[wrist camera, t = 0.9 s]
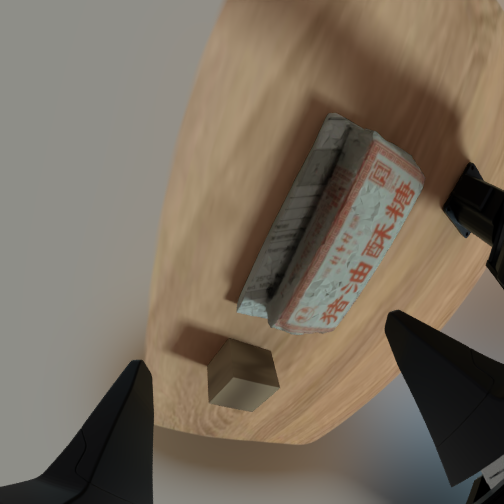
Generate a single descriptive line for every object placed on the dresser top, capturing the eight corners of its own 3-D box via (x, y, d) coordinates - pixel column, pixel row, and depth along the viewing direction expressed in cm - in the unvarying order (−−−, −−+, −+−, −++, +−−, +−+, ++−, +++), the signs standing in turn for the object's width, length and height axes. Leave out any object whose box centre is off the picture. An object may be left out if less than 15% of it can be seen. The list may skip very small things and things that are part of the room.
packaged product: (355, 109, 14) (448, 180, 17) (324, 108, 18) (412, 165, 21) (238, 340, 21) (338, 355, 24) (233, 301, 25) (322, 322, 28)
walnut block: (270, 350, 28) (280, 387, 24) (246, 376, 30) (252, 411, 26) (229, 337, 27) (233, 377, 22) (207, 365, 28) (208, 403, 24)
